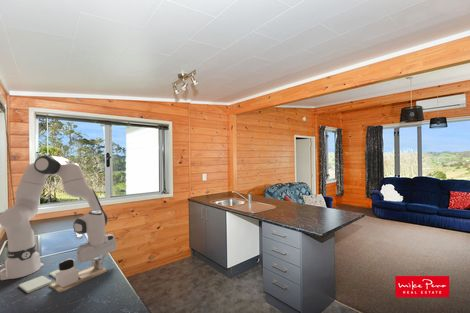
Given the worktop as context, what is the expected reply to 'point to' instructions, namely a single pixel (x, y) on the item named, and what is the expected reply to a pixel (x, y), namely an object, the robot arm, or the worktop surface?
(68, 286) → the birch strip
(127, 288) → the worktop surface
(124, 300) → the worktop surface
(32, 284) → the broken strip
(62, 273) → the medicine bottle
